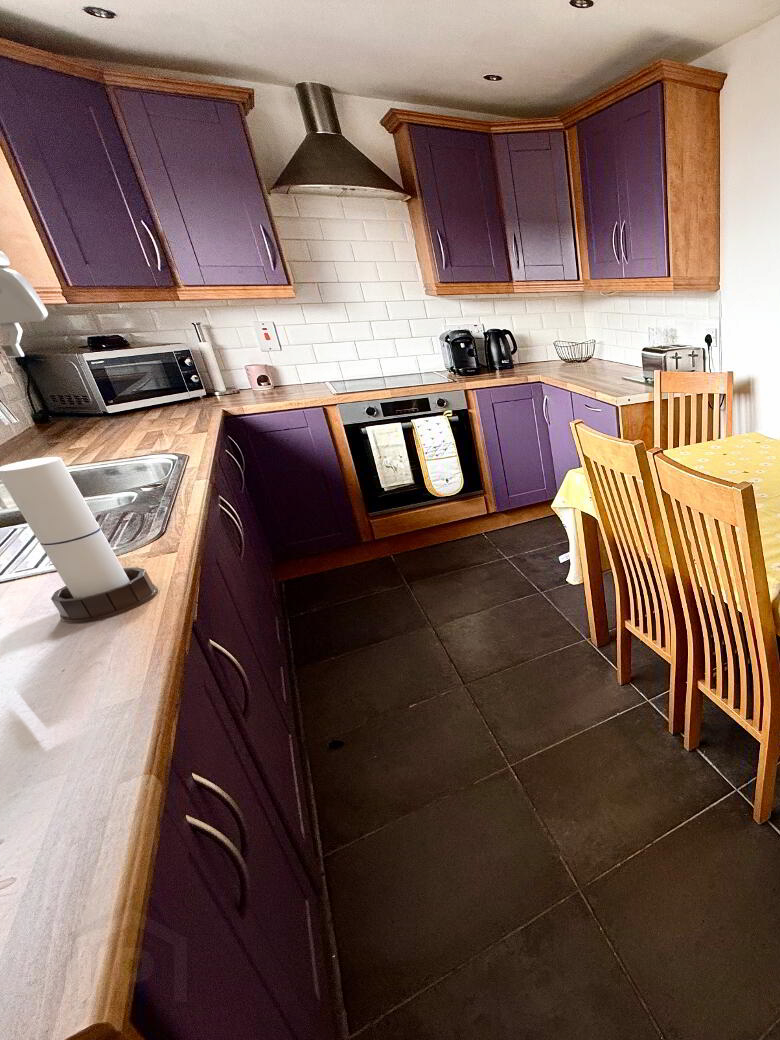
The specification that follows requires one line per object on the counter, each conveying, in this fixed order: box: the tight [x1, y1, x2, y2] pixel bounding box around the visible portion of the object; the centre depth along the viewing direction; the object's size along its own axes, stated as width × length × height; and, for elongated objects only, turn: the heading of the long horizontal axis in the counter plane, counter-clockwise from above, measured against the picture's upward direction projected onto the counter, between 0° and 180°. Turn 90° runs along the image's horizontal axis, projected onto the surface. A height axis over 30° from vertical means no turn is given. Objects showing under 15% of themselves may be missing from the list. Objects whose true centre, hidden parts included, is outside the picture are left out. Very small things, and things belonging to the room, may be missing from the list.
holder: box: [50, 566, 159, 624], centre depth 101 cm, size 12×12×4 cm
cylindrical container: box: [0, 456, 130, 598], centre depth 96 cm, size 7×7×25 cm
